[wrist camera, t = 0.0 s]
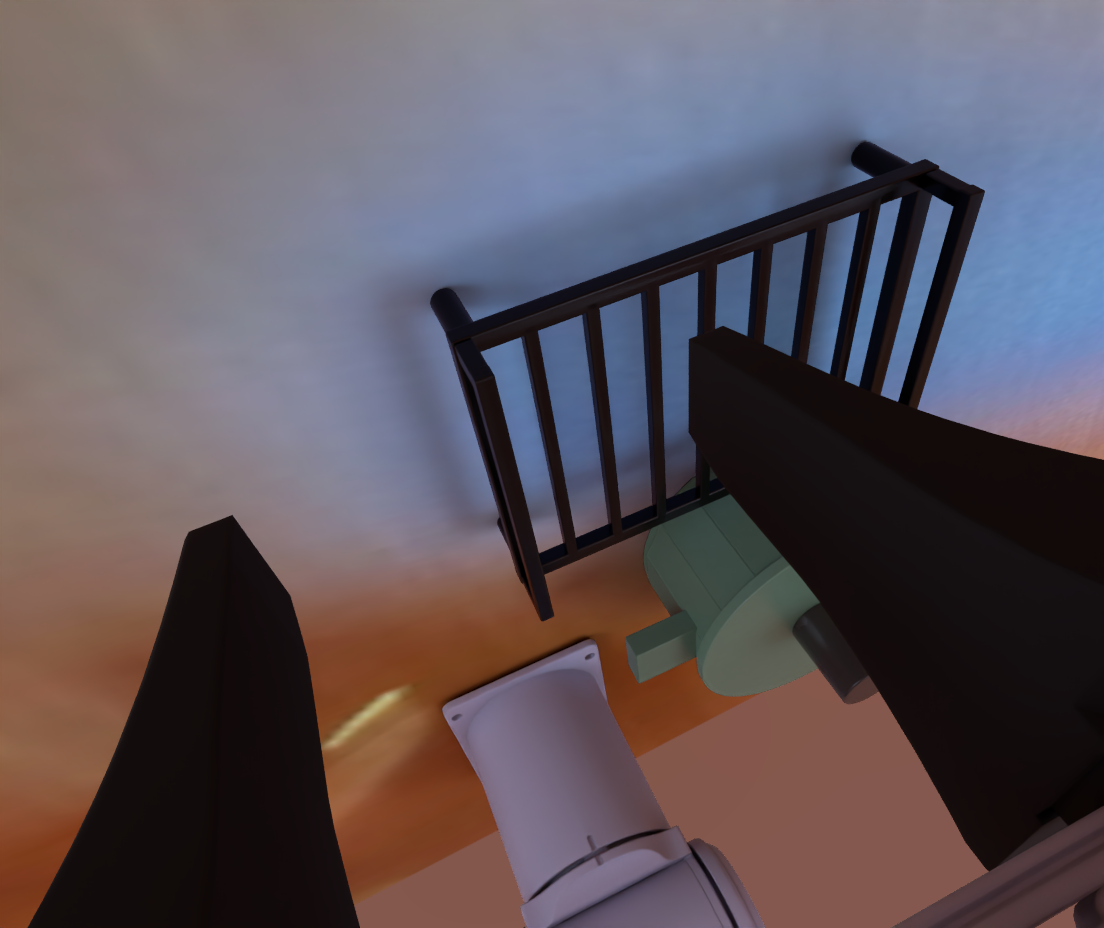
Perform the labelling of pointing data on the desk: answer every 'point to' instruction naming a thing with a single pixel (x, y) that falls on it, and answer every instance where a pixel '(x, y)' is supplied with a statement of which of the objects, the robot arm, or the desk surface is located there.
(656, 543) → the pot
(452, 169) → the desk surface
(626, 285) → the rack
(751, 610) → the lid
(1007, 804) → the robot arm
